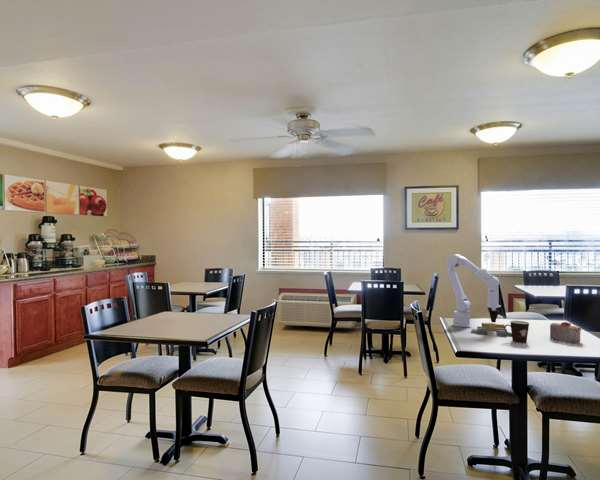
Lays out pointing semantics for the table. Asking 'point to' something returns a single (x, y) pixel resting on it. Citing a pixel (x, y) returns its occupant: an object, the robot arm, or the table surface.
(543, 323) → the table surface
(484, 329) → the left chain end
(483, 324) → the tan wooden beam
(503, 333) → the right chain end
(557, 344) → the table surface
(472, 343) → the table surface
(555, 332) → the food item
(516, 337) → the coffee mug
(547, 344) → the table surface
